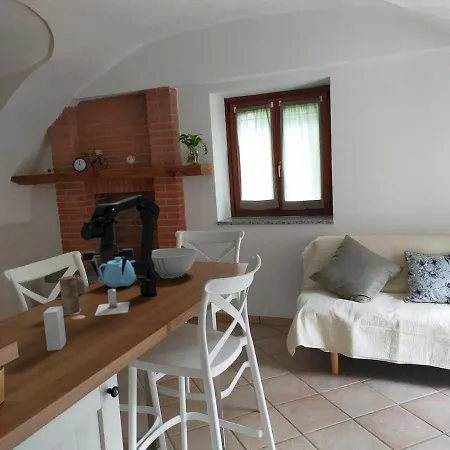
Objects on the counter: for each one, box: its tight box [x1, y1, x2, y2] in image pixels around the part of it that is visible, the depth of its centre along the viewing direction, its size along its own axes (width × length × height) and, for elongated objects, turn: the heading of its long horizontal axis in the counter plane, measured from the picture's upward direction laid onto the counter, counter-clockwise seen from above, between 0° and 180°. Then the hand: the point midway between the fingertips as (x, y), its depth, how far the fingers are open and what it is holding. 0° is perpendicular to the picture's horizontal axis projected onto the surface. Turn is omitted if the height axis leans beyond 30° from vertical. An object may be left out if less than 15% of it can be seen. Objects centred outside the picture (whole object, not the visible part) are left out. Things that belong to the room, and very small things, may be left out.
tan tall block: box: [58, 275, 81, 316], centre depth 172 cm, size 5×5×14 cm
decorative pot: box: [97, 256, 137, 289], centre depth 211 cm, size 16×16×14 cm
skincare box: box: [42, 305, 67, 352], centre depth 137 cm, size 6×4×12 cm
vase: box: [72, 274, 86, 296], centre depth 199 cm, size 7×7×9 cm
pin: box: [107, 288, 118, 309], centre depth 174 cm, size 3×3×7 cm
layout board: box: [63, 301, 131, 321], centre depth 172 cm, size 26×16×1 cm, turn 99°
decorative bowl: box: [152, 247, 198, 279], centre depth 226 cm, size 27×27×12 cm
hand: (110, 276), depth 173 cm, fingers open, 9 cm apart
